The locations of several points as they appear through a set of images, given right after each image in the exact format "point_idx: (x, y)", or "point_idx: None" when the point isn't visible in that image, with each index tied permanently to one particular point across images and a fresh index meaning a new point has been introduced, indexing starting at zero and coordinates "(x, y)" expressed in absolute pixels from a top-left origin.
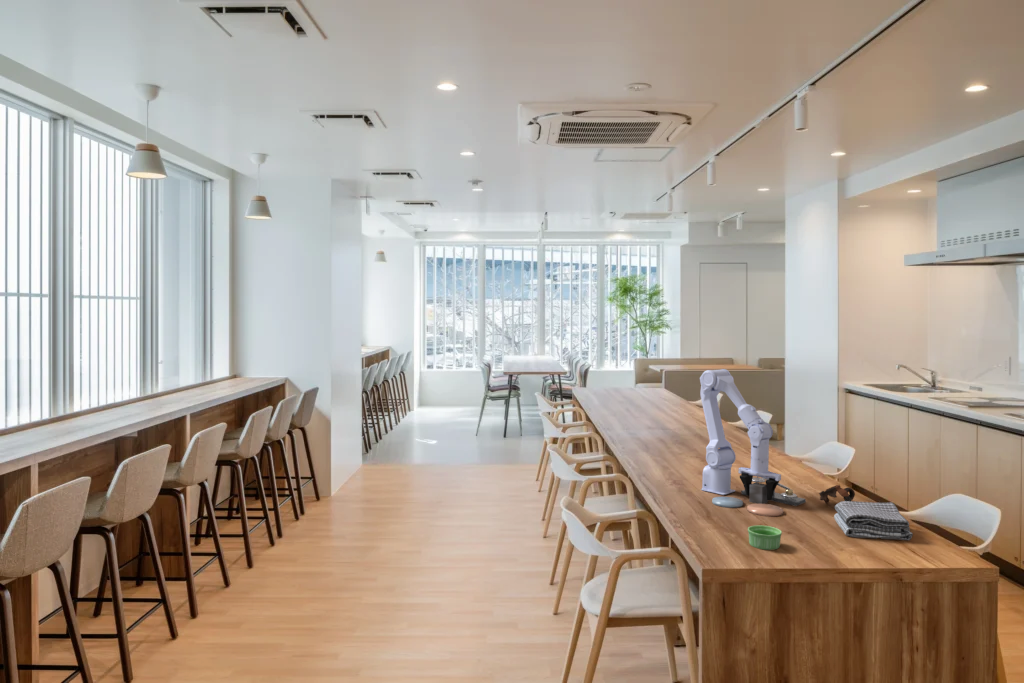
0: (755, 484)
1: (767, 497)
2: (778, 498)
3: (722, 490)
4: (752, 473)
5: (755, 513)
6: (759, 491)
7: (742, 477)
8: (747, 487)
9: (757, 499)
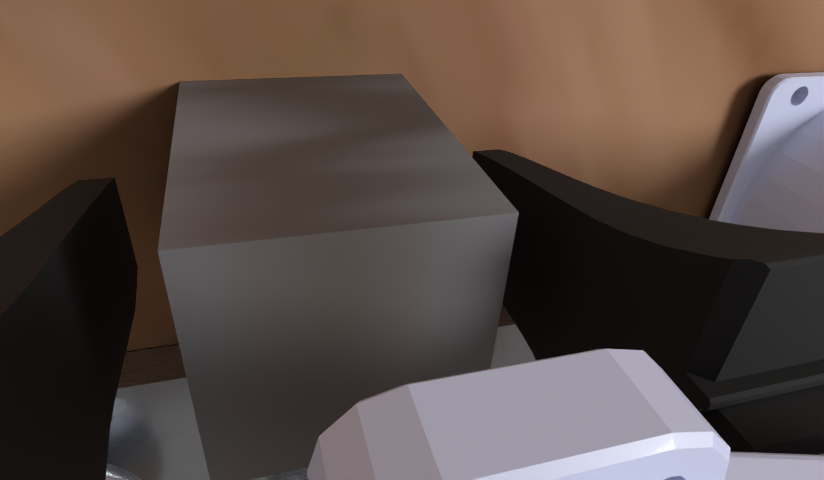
0: (420, 318)
1: (81, 193)
2: (123, 401)
3: (821, 139)
4: (613, 409)
5: None
6: (230, 175)
7: (803, 246)
8: (546, 221)
9: (265, 104)
